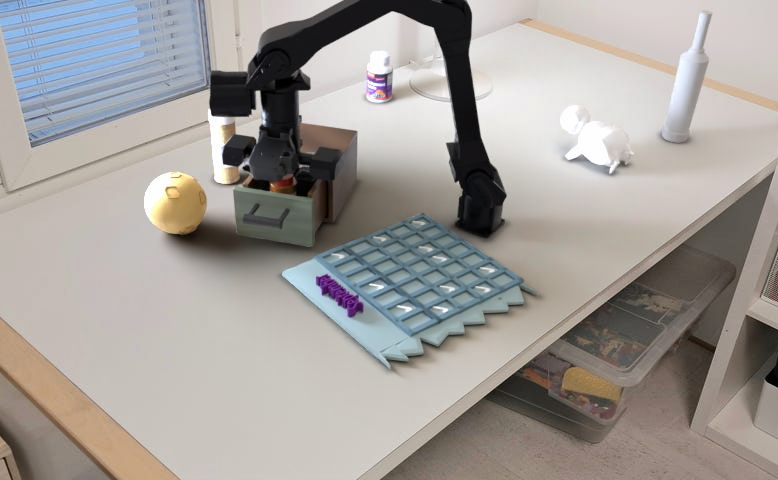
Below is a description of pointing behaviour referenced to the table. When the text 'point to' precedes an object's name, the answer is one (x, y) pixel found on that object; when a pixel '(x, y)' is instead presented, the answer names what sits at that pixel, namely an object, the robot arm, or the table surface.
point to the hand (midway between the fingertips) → (284, 203)
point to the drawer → (280, 212)
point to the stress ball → (175, 203)
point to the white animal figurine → (596, 138)
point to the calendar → (407, 287)
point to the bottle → (687, 85)
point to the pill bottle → (379, 77)
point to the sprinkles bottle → (220, 135)
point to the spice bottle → (284, 185)
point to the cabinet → (348, 175)
